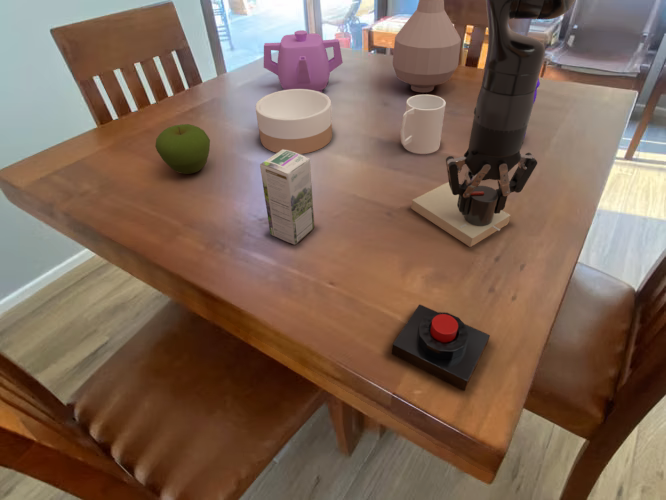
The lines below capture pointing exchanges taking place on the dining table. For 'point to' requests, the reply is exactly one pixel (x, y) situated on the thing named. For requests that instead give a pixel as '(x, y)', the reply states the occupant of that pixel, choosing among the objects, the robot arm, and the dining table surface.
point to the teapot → (303, 60)
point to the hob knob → (482, 206)
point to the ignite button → (444, 328)
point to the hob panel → (454, 216)
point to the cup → (422, 124)
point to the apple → (184, 148)
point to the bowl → (294, 120)
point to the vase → (426, 47)
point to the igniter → (440, 348)
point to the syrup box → (288, 195)
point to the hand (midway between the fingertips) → (479, 211)
